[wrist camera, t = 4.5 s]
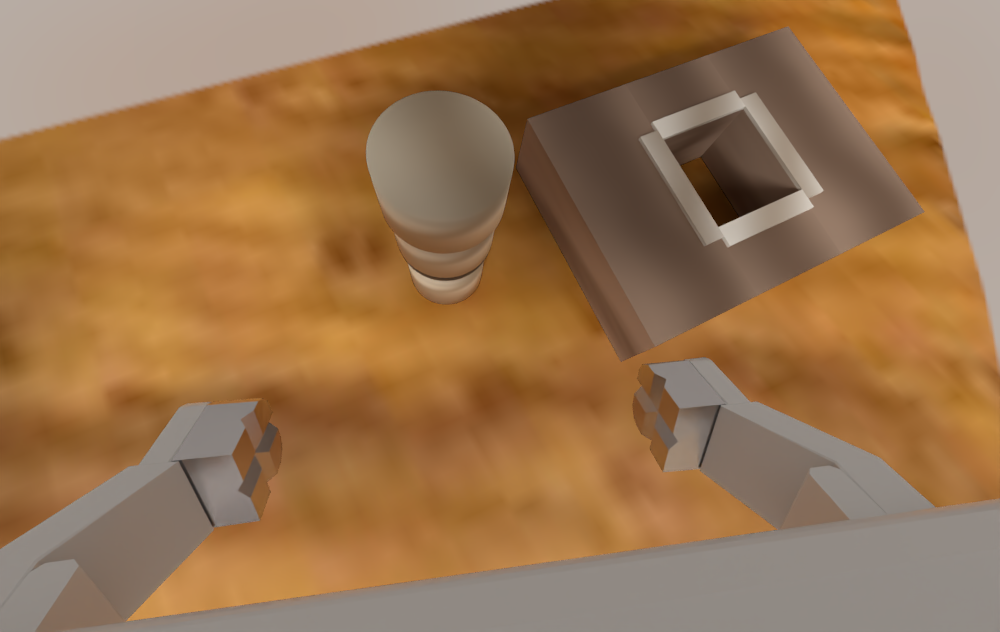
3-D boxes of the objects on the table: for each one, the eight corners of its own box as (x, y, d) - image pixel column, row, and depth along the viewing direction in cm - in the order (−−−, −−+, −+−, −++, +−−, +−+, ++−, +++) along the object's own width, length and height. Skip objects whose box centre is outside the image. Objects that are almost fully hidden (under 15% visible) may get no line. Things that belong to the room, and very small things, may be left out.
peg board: (621, 361, 23) (657, 345, 19) (516, 167, 25) (528, 115, 21) (854, 245, 26) (928, 209, 22) (742, 82, 28) (790, 23, 24)
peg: (424, 326, 22) (401, 241, 13) (389, 250, 23) (343, 116, 13) (503, 291, 23) (539, 188, 13) (467, 219, 24) (476, 73, 14)
